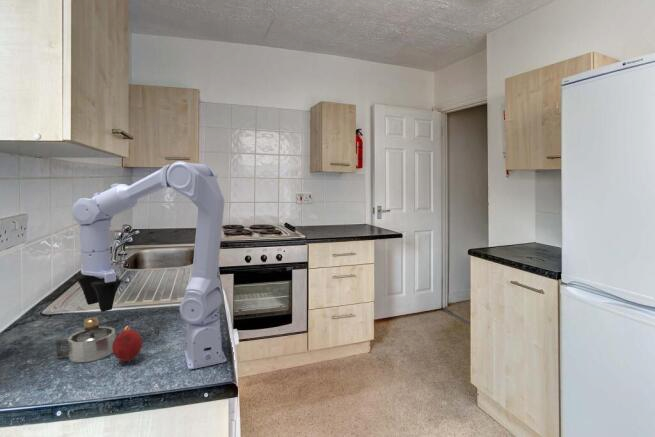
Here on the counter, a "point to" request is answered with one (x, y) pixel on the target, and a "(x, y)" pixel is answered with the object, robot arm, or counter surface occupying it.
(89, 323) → the plunger
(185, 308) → the robot arm
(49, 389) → the counter surface
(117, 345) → the onion
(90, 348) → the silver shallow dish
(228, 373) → the counter surface
